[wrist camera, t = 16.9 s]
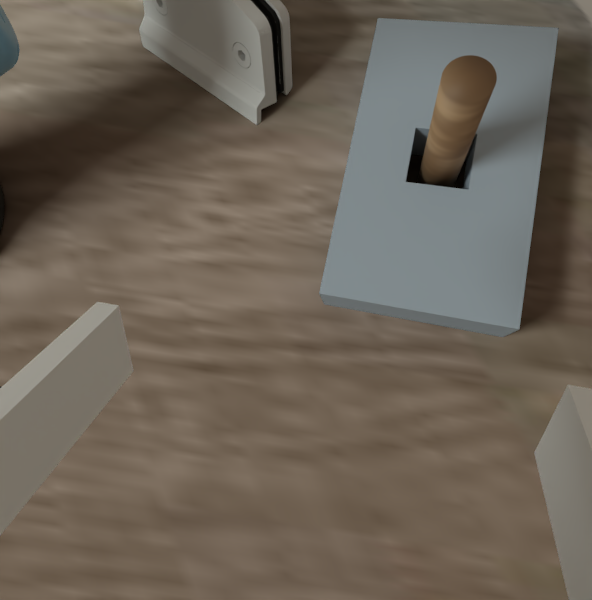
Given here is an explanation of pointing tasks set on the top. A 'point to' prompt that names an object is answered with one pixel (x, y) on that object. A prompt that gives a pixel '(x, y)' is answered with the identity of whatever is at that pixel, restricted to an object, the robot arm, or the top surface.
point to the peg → (456, 118)
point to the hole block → (437, 199)
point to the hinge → (225, 47)
